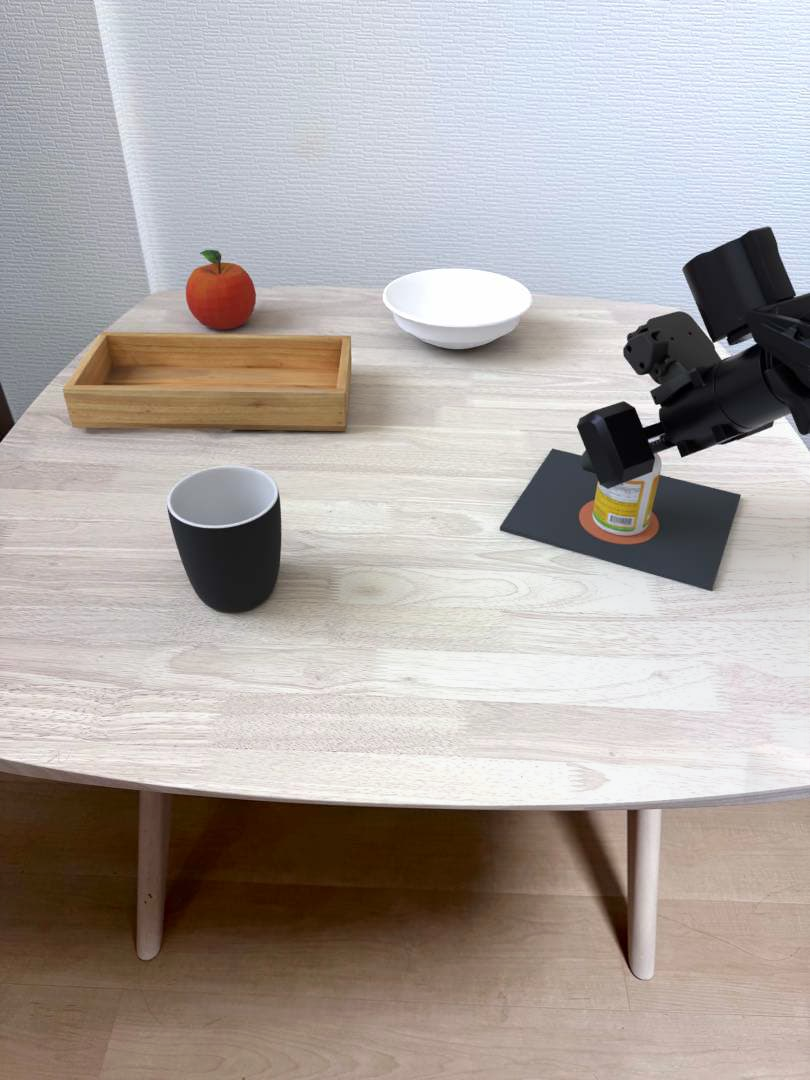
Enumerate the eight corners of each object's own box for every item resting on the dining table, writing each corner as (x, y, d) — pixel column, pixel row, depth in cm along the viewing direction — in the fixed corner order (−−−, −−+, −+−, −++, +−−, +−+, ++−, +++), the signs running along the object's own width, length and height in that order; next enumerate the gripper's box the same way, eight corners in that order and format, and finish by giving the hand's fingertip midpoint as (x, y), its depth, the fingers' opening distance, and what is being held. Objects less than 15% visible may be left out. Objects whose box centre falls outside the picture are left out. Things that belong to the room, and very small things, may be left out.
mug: (309, 588, 75) (301, 493, 68) (227, 640, 69) (210, 542, 63) (226, 531, 81) (212, 440, 75) (145, 574, 76) (123, 480, 70)
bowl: (397, 378, 107) (397, 330, 103) (371, 316, 122) (371, 272, 118) (547, 365, 110) (553, 318, 106) (504, 306, 125) (507, 263, 121)
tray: (352, 373, 108) (350, 331, 104) (346, 434, 96) (345, 389, 92) (109, 373, 107) (100, 330, 104) (73, 434, 95) (61, 388, 92)
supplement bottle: (625, 499, 85) (643, 414, 79) (660, 529, 81) (681, 441, 75) (580, 512, 83) (595, 425, 77) (613, 543, 79) (631, 454, 73)
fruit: (213, 344, 114) (203, 271, 108) (178, 322, 120) (166, 252, 114) (272, 326, 119) (266, 255, 113) (236, 305, 125) (228, 237, 119)
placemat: (739, 498, 86) (741, 493, 86) (711, 591, 75) (713, 586, 74) (551, 451, 93) (552, 447, 93) (499, 530, 82) (500, 525, 81)
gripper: (785, 273, 69) (661, 349, 83) (611, 320, 61) (508, 394, 75) (838, 400, 68) (704, 454, 82) (669, 463, 61) (553, 511, 75)
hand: (620, 450), depth 79 cm, fingers open, 9 cm apart
